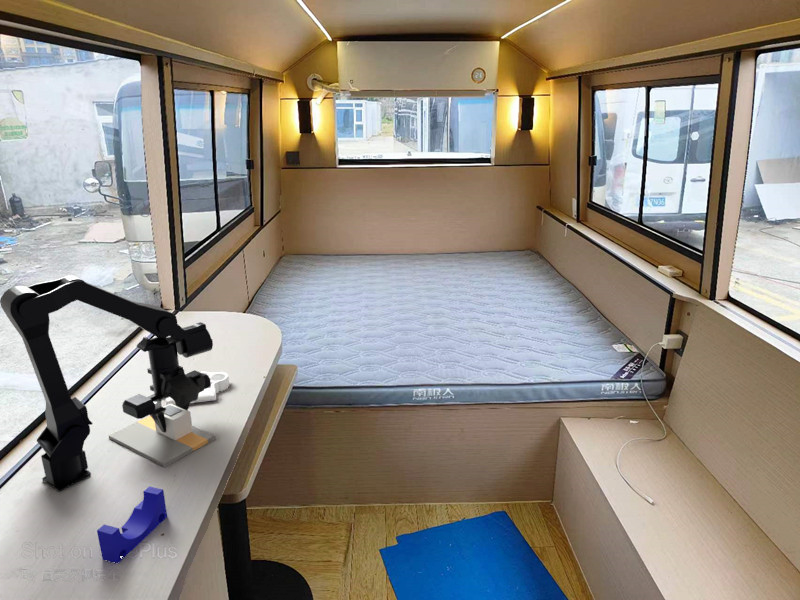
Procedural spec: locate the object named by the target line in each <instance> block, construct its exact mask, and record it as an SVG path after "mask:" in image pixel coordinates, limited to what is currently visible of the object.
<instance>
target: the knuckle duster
mask: <svg viewBox="0 0 800 600" xmlns="http://www.w3.org/2000/svg"><path fill="white" fill-rule="evenodd" d="M200 372H201V373H203V374H206V375H208V376H209V378H210V381H211V386H210V387H208V388H206V389H204V391H202V392H200V393H199V394H198V399H197V400H196V401H192V402H190V404H195V403H197V404H198V403H203V402H209V401H210V402H211V401H217V394H218V393H220V392H219V391H221V392H224V391H225V389H226V388H227V389H229V388H228V386H229V387H230V378H229V374H228V373H227V372H224V371H218V372H211V371H210V372H209V371H200ZM227 389H226V390H227ZM223 390H224V391H223ZM216 393H217V394H216ZM165 403H166V404H165V406H166V405H168V404H173V405H175V406H176V404H175V401H174V400H173V399H172V398H171V397H169V398H166V399H165Z"/></svg>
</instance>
